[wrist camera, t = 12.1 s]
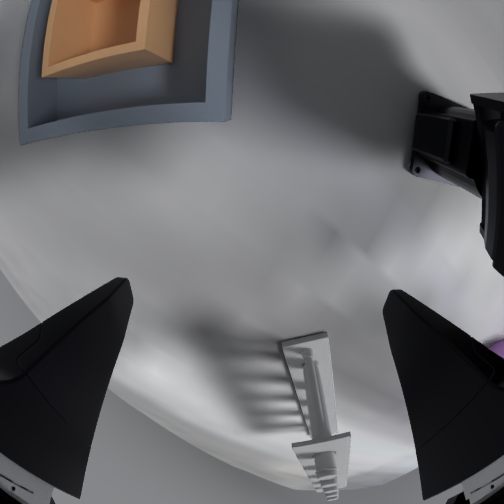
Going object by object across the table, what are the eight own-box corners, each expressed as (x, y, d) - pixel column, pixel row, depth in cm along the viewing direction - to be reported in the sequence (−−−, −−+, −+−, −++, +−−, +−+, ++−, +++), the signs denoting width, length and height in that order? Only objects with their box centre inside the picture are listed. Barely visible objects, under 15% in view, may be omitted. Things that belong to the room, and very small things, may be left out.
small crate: (181, -19, 10) (159, -51, 6) (173, 63, 14) (144, 49, 9) (94, 1, 10) (56, -16, 6) (86, 78, 13) (41, 77, 9)
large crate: (243, -53, 9) (241, -82, 6) (231, 119, 16) (224, 121, 13) (67, -17, 9) (40, -28, 5) (53, 135, 16) (20, 145, 12)
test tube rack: (281, 341, 25) (292, 473, 14) (326, 330, 25) (357, 461, 13) (310, 434, 37) (317, 504, 26) (337, 428, 37) (348, 498, 25)
